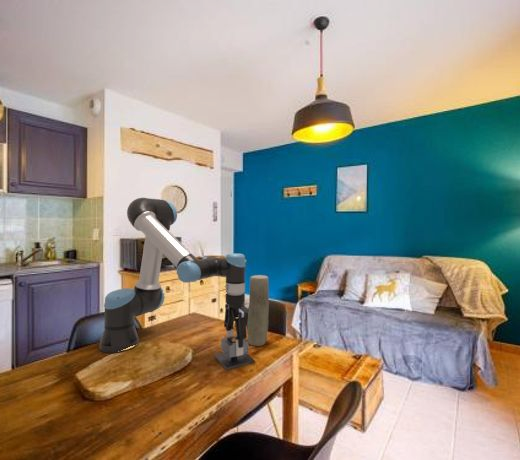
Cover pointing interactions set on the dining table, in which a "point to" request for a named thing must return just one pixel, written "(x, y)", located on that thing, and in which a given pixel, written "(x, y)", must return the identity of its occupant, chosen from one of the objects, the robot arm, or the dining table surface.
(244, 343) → the grey square hollow block
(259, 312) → the decorative sculpture
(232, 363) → the post
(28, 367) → the dining table surface
